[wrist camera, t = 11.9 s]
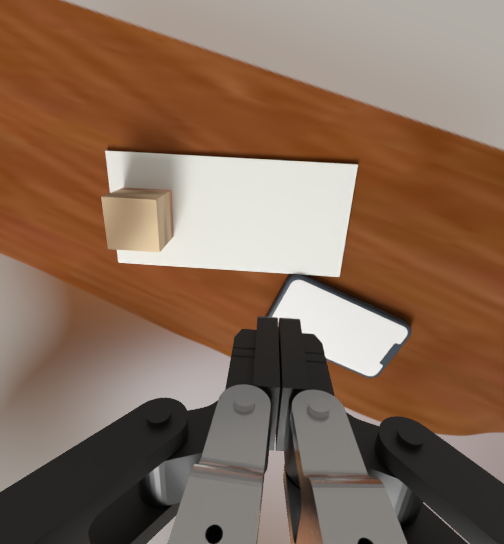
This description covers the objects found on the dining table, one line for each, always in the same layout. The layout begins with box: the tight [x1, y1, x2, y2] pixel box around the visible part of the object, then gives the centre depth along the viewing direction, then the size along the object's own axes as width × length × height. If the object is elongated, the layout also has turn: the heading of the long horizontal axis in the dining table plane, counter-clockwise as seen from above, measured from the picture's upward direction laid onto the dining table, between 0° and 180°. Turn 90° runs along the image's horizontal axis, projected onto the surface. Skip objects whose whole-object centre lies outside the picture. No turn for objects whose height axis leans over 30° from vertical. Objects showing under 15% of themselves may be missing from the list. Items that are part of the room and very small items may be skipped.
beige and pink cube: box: [101, 188, 174, 252], centre depth 34 cm, size 5×5×5 cm
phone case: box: [266, 274, 411, 378], centre depth 40 cm, size 9×2×16 cm
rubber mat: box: [105, 151, 358, 277], centre depth 36 cm, size 25×12×1 cm, turn 87°
